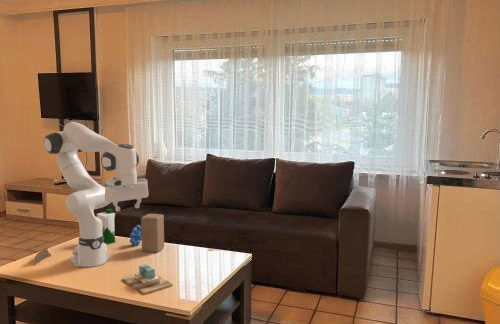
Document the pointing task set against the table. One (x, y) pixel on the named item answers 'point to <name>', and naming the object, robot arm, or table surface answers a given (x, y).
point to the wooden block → (152, 232)
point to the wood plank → (41, 255)
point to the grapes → (136, 235)
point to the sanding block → (147, 276)
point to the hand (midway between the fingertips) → (127, 209)
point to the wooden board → (144, 288)
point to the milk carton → (107, 225)
